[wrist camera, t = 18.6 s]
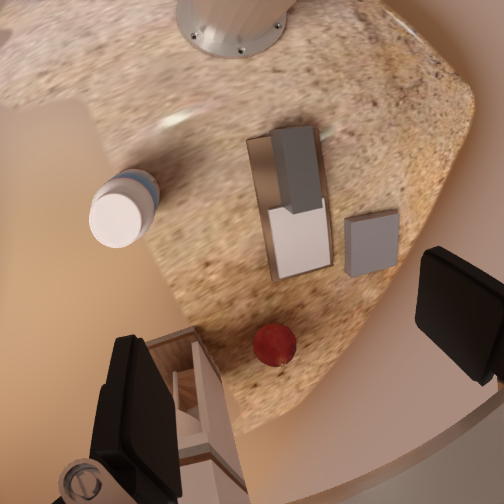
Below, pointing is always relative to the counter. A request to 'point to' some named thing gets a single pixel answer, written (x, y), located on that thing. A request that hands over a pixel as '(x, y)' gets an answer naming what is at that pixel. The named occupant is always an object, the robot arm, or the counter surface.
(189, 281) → the counter surface
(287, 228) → the stepped grey white block
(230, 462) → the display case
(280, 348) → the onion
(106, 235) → the pill bottle
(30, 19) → the counter surface
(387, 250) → the tile
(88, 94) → the counter surface
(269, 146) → the rest
